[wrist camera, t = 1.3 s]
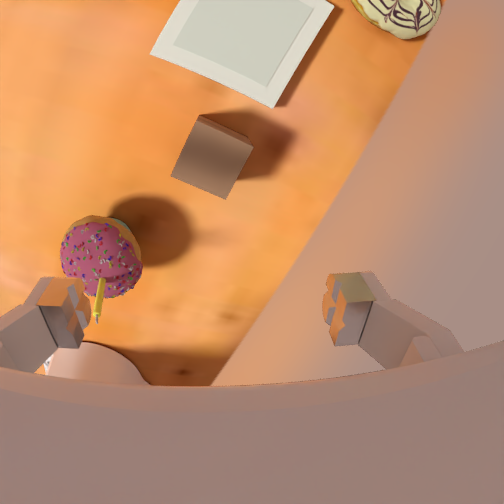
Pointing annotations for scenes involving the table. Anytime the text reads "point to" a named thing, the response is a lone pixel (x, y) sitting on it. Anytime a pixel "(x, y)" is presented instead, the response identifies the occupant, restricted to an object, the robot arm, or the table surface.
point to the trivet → (242, 41)
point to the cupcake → (101, 257)
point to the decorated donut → (400, 15)
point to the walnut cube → (212, 157)
